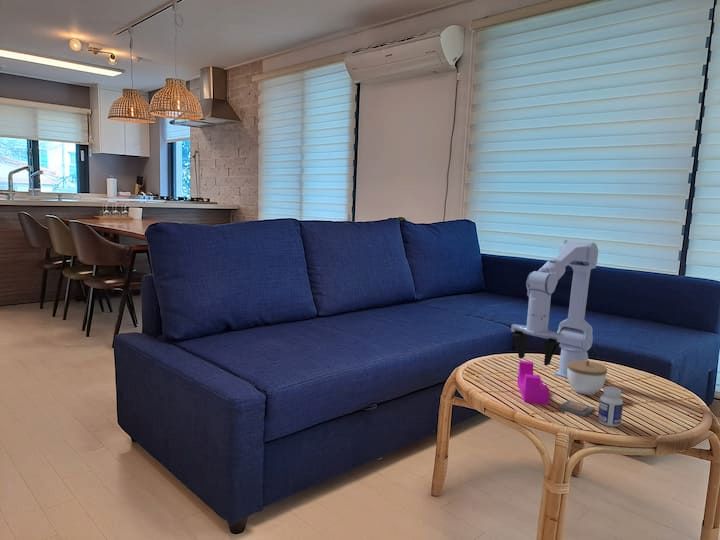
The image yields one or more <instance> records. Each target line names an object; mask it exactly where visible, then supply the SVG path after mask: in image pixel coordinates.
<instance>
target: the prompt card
mask: <svg viewBox="0 0 720 540" xmlns="http://www.w3.org/2000/svg"><path fill="white" fill-rule="evenodd" d="M557 408H558V409H559V410H562V411H565V412H568V413H571V414H575V415H577V416H580V417H583V418H585V417H587V416H588V415H590V414H591V413H593V412H594V411H595V410H596V408H595V407H594V406H589V405H586V404H585V403H580V402H576V401H573V400H570V399H568V400H566V401H565V402H563V403H561V404H560V405H559V406H557Z"/></svg>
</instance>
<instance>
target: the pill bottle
mask: <svg viewBox="0 0 720 540" xmlns="http://www.w3.org/2000/svg"><path fill="white" fill-rule="evenodd" d="M602 393H603V394H602V395H600V397H599V401H598V402H599V403H598V404H599V405H598V413H597V421H598V422H599V423H600V424H602V425H603V426H604V425H605V426H608V427H612V428H613V427H614V428H616V427H620V426H621V425H622V417H623V416H622V415H623V405H624V400H623V399H622V398H621V396H622V390H621V389H620V388H619V387H614V386H603V392H602Z"/></svg>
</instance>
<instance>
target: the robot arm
mask: <svg viewBox="0 0 720 540" xmlns="http://www.w3.org/2000/svg"><path fill="white" fill-rule="evenodd" d="M598 257H599V247H598V245H597V243H595V242H585V241H584V242H583V241H576V240H575V241H573V240H563V241H562V242H561V244H560V246H559V253H558V255H557V256H556V257H555V258H549V260H548V261H546V262H545V263H544V265H542V267H540V268H539V269H538V270H537V271H536V270H534V271H532V272H529V274H528V276H527V279H526V282H525V285H526V289H527V292H526V295H527V297H528V304H527V305H528V308H527V316H526V325H525V324H524V325H521V324H517V323H513V324H511V327H510V331H511V332H512V339H513V340H514V342H515V346H516V349H517V354H518V359H521V360H522V359H524V358H525V356H526V355H525V354H526V344H527V340H528V337H529V336H533V337H536V338H537V337H539V338H542V339H545V340H544V342H543V344H544V359H543V365H544V366H549V365H551V361H552V358H553V356H554V354H555V351H556V350H557V348H558V346H559V348H560V349H561V350H560V356H559V357H560V358H559V367H558V368H559V369H558V370H557V371H554V372H553V375H556V376H559V377H562V378H567V379H568V377H567V368H568V367H567V364H568V362H570V361H586V360H589V354H588V351H589V350H590V349H591V347H592V346H593V340H594V337H593V332H594V330H593V327H592V325H591V324H590V323H588V321H586V320H585V317H586V308H587V300H588V291H589V286H590V285H589V284H590V277H591V270H593V269H596V267H597V264H598ZM567 266H569V267H570V268H571V269H572V272H573V274H572V281H571V289H570V297H569V306H568V307H569V308H568V314H567V318H566V319H564V320H562V321H560V323H559V324H558V329H557V332H555V331H553V330H549V321H550V312H551V311H550V310H551V298H552V294H553V293H554V292H555V290H556V287H557V285H558V281H559V280H560V279H561V277H563V276H564V275H565V272H566V267H567Z"/></svg>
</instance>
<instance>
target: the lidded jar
mask: <svg viewBox="0 0 720 540" xmlns="http://www.w3.org/2000/svg"><path fill="white" fill-rule="evenodd" d="M567 367H568V368H567V377H568V378H567V381H568V383H569V386H570V387H571V388H572V390H573V391H575V392H576V393H577V394H581V395H585V396H593V395H596V393H598V392H599V391H600V390H602V389H603V388H604V385H605V382H606V378H607V373H608V369H607V367H606V366H604V365H602V364H599V363H596V362H593V361H590V360H589V359H588V360H586V361H570V362H568V364H567Z"/></svg>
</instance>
